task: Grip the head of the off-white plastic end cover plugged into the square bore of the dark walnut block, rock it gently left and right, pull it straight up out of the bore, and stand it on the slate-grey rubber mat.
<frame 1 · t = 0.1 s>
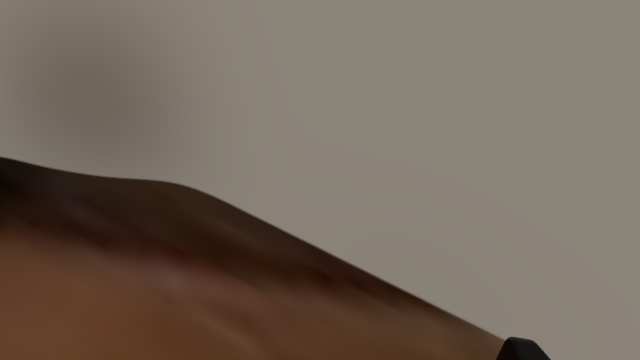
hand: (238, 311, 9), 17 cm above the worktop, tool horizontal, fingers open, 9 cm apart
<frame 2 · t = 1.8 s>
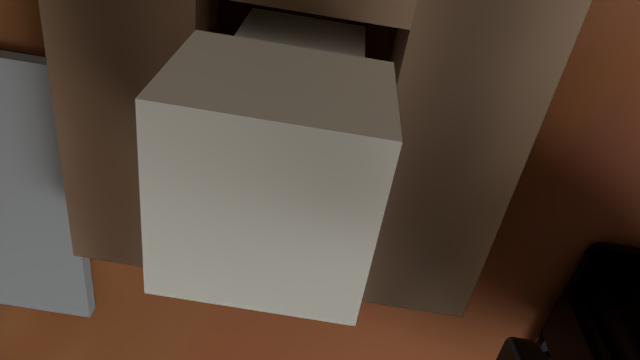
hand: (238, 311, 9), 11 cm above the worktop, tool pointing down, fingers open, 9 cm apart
walnut bore block: (301, 71, 18), on the worktop
end cover: (285, 129, 15), in the walnut bore block
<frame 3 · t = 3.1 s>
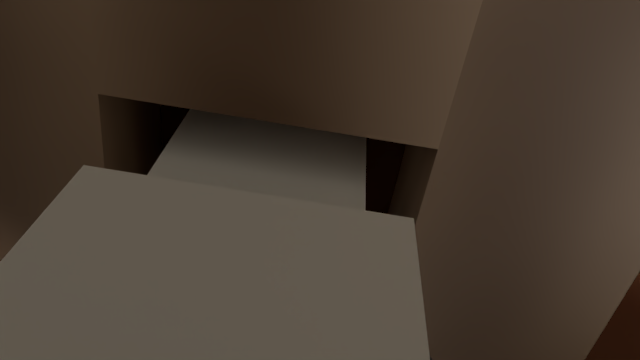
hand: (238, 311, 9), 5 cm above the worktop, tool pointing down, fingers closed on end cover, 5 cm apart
walnut bore block: (277, 170, 13), on the worktop
end cover: (242, 297, 9), in the walnut bore block, touching gripper
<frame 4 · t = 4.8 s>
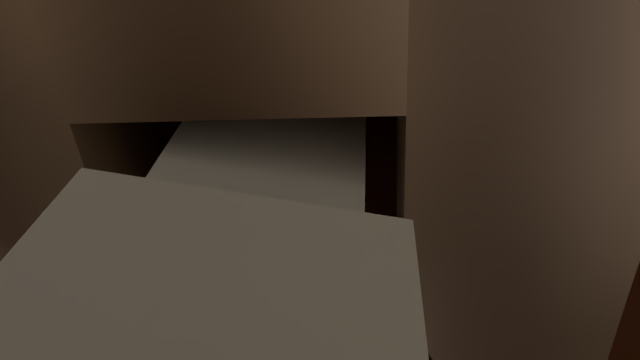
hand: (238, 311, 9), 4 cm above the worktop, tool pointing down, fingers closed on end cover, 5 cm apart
walnut bore block: (277, 170, 13), on the worktop
end cover: (241, 300, 9), in the walnut bore block, touching gripper
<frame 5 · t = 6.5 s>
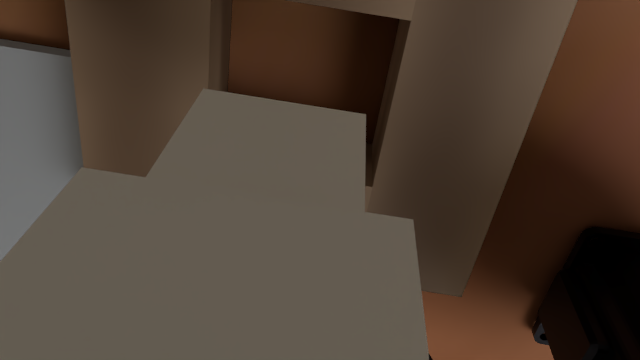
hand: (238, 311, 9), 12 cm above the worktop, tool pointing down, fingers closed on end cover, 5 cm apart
walnut bore block: (308, 62, 19), on the worktop
end cover: (241, 299, 9), point 12 cm above the worktop, touching gripper
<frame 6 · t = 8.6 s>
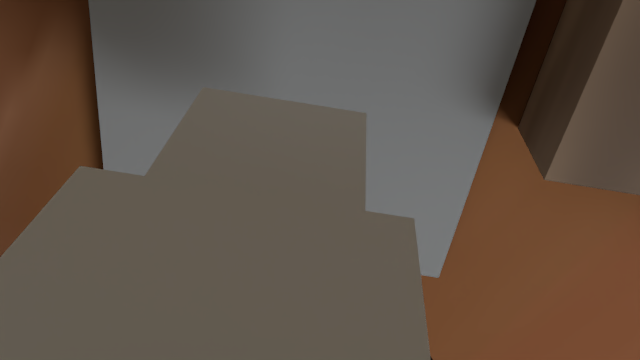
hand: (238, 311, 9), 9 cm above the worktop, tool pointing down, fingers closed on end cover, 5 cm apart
end cover: (241, 299, 9), point 9 cm above the worktop, touching gripper
grey mat: (295, 92, 17), on the worktop
when the fingers open (7 cm above the worktop, at t = 10.2 s): end cover drops 2 cm, resting on grey mat.
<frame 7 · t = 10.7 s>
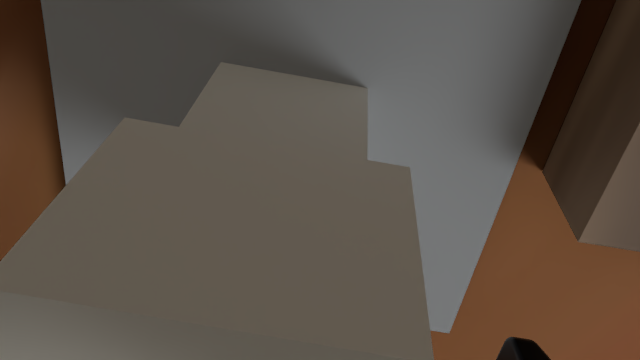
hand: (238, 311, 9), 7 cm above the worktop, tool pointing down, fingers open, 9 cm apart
end cover: (257, 243, 11), on the grey mat, point 5 cm above the worktop
grey mat: (287, 130, 15), on the worktop
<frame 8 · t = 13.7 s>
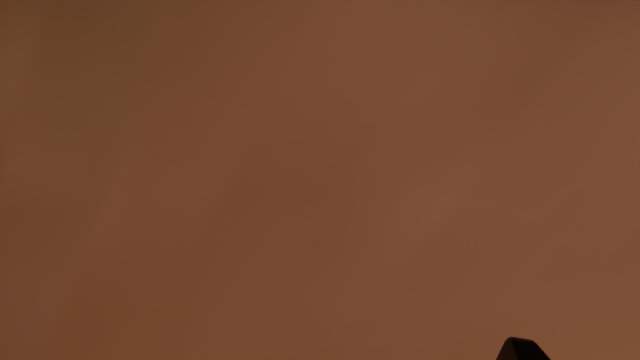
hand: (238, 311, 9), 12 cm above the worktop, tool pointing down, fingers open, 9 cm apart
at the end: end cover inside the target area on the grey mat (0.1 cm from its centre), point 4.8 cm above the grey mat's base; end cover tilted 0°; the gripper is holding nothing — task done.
